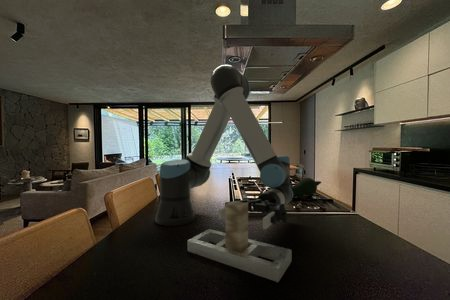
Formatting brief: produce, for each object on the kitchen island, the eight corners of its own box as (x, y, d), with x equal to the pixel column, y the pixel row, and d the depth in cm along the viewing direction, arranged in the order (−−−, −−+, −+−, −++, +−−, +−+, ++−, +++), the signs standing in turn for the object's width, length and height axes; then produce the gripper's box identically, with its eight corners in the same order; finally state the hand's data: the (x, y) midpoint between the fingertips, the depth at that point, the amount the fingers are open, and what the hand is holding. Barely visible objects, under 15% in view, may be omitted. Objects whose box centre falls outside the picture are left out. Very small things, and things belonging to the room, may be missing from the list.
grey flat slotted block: (187, 251, 61) (187, 240, 61) (209, 238, 70) (209, 228, 69) (278, 282, 47) (278, 268, 47) (291, 261, 55) (291, 249, 55)
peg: (225, 257, 58) (225, 204, 57) (234, 250, 61) (233, 200, 61) (240, 262, 55) (240, 206, 55) (248, 254, 59) (248, 203, 59)
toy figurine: (279, 203, 117) (326, 199, 118) (276, 167, 117) (323, 163, 117) (275, 199, 127) (318, 195, 127) (272, 166, 126) (315, 161, 127)
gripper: (307, 218, 70) (286, 243, 52) (239, 206, 84) (204, 223, 66) (307, 195, 70) (286, 212, 52) (239, 187, 84) (204, 198, 66)
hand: (240, 218), depth 59 cm, fingers open, 13 cm apart
